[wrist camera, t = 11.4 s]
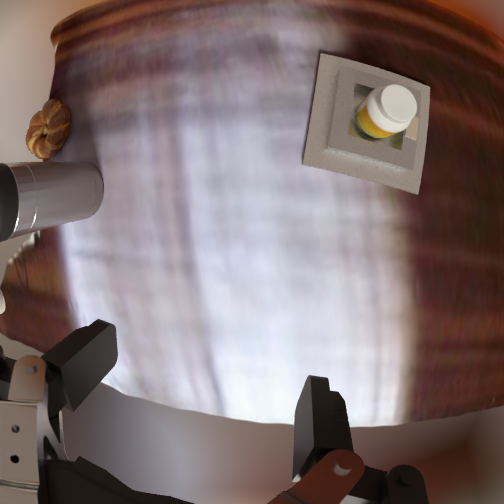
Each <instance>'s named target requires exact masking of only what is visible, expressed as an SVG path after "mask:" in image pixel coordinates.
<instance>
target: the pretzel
mask: <svg viewBox="0 0 504 504" xmlns="http://www.w3.org/2000/svg"><path fill="white" fill-rule="evenodd" d="M70 120H71V115H70V110H69V108H68V106H67V105H64V104H61V103H60V101H59V100H57V99H51V100H48V101H47V102H46V103H45V104H44V106H43V110H42V111H38V112H37V113H36V114H35V115H34V116H33V117H32V119H31V122H30V126H29V129H28V132H27V135H26V145H27V147H28V149H29V151H31V153H33V154H34V155H35V156H36V157H37V158H39V159H45V158H50V157H54V156H55V155H56V154H57V153H58V152H59V150H60V149H61V146H62V145H63V143H64V142H65V140H66V139H67V136H68V133H69V128H70Z"/></svg>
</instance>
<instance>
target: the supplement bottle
mask: <svg viewBox="0 0 504 504" xmlns="http://www.w3.org/2000/svg"><path fill="white" fill-rule="evenodd" d="M416 112H417V103H416V100H415V98H414V96H413V94H412V93H411V92H410V91H409V90H408V89H406V88H405V87H403V86H401V85H397V84H392V85H389V86H380V87H377V88H375V89H374V90H373V91H372V92H371V93H370V94H369V95H368V96H367V97H366V98H365V99H364V100H363V101H362V102H361V103H360V104H359V106H358V107H357V109H356V111H355V122H356V124H357V127H358V128H359V130H360V131H361V132H362V133H363V134H364V135H365V136H367V137H369V138H371V139H376V140H378V139H383V138H386V137H388V136H391V135H393V134H396V133H398V132H401V131H403V130H404V129H406V128H407V127H408V126H409V124H410V123H411V120H412V118H413V117H414V116H415V114H416Z"/></svg>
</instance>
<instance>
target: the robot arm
mask: <svg viewBox="0 0 504 504" xmlns="http://www.w3.org/2000/svg"><path fill="white" fill-rule="evenodd" d="M102 197H103V181H102V178H101V175H100V173H99V171H98V170H97V169H96V167H95V166H93V165H92V164H90V163H84V162H20V163H0V242H2V241H5V240H8V239H11V238H14V237H17V236H21V235H24V234H28V233H31V232H35V231H38V230H42V229H46V228H50V227H53V226H57V225H61V224H65V223H69V222H73V221H78V220H82V219H86V218H89V217H91V216H92V215H94V214H95V212H96V211H97V210H98V208H99V207H100V204H101V201H102ZM117 357H118V350H117V338H116V327H115V325H113V324H111V323H108V322H106V321H103V320H100V319H97V320H96V321H94V322H93V323H92V324H91V325H89V326H85V327H82V328H79V329H76V330H75V331H73V332H72V333H71V334H70V335H68V337H66V338H64V339H63V340H62V342H61V341H60V342H59V343H58V344H57V345H55V346H54V347H53V348H51V349H50V350H49V351H48V352H46V353H45V354H44V355H43V356H41V357H38V356H35V355H27V356H23V357H21V358H19V359H18V360H14V359H11V358H8V357H5V355H4V352H3V349H2V347H1V346H0V504H194V503H190V502H187V501H183V500H180V499H177V498H173V497H171V496H164V495H157V494H150V493H145V492H139V491H134V490H132V489H131V488H129V487H127V486H126V485H125V484H123V483H122V482H121V481H119V480H118V479H117V478H115V477H114V476H113V475H111V474H110V473H109V472H107V471H106V470H105V469H103V468H101V467H99V466H97V465H95V464H93V463H91V462H89V461H87V460H86V459H84V458H82V457H80V456H79V457H78V458H77V460H76V461H75V462H74V461H69V460H68V459H67V456H66V453H65V449H64V440H63V427H62V413H61V409H62V408H63V407H66V408H67V409H69V410H71V411H73V412H74V411H75V410H76V408H77V407H78V406H79V405H80V404H81V403H82V402H83V401H84V399H85V398H86V397H87V396H88V395H89V394H90V392H91V391H92V390H93V389H94V388H95V387H96V386H97V385H98V384H99V383H100V382H101V380H102V379H103V378H104V377H105V376H106V375H107V374H108V373H109V371H110V370H111V369H112V368H113V367H114V366H115V364H116V361H117ZM346 412H347V410H346V405H345V401H344V399H343V398H342V396H341V395H340V394H339V392H336V391H330V387H329V380H328V378H326V377H318V376H311V375H309V376H308V377H307V379H306V382H305V385H304V387H303V390H302V392H301V395H300V398H299V400H298V403H297V406H296V410H295V423H294V455H293V474H292V482H297V483H296V484H295V485H294V486H292V487H291V488H290V489H289V490H287V491H283V492H282V493H280V494H279V495H277V496H276V497H275V498H273V499H272V500H271V501H270V502H268V503H267V504H429V502H428V498H427V492H426V488H425V483H424V479H423V476H422V475H421V473H420V472H419V471H418V470H417V469H416V468H414V467H412V466H409V465H398V466H396V467H394V468H392V469H391V470H390V471H389V472H386V471H382V470H378V469H374V468H370V467H368V466H366V465H364V462H363V460H362V459H361V457H360V456H359V455H357V454H356V453H354V451H353V445H352V439H351V433H350V427H349V421H348V416H347V413H346Z"/></svg>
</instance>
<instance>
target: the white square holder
mask: <svg viewBox="0 0 504 504" xmlns="http://www.w3.org/2000/svg"><path fill="white" fill-rule="evenodd" d="M392 84H397V85H401V86H403V87H405V88H406V89H408V90H409V91H410V92H411V93H412V94H413V96H414V98H415V100H416V103H417V112H416V114H415V116H414V117H413V118H412V120H411V123H410V124H409V126H408V127H407V128H406V129H404V130H403V131H401V132H398V133H396V134H393V135H391V136H388V137H386V138H383V139H378V140H376V139H371V138H369V137H367V136H365V135H364V134H363V133H362V132H361V131H360V130H359V128H358V127H357V124H356V122H355V111H356V109H357V107H358V106H359V104H360V103H361V102H362V101H363V100H364V99H365V98H366V97H367V96H368V95H369V94H370V93H371V92H372V91H373V90H374V89H375V88H377V87H380V86H389V85H392ZM429 101H430V87H428V86H426V85H424V84H421V83H419V82H416V81H414V80H411V79H409V78H406V77H403V76H400V75H398V74H395V73H392V72H389V71H386V70H383V69H380V68H377V67H373V66H370V65H367V64H363V63H360V62H356V61H352V60H348V59H344V58H340V57H336V56H332V55H327V54H323V53H321V54H320V60H319V67H318V74H317V81H316V87H315V93H314V100H313V106H312V112H311V118H310V124H309V130H308V136H307V142H306V147H305V153H304V158H303V164H302V165H305V166H309V167H314V168H319V169H323V170H328V171H332V172H336V173H340V174H344V175H349V176H353V177H356V178H360V179H364V180H368V181H372V182H375V183H379V184H383V185H386V186H390V187H393V188H396V189H400V190H403V191H406V192H410V193H413V194H417V195H418V192H419V186H420V181H421V175H422V169H423V162H424V155H425V147H426V138H427V128H428V116H429Z"/></svg>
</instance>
